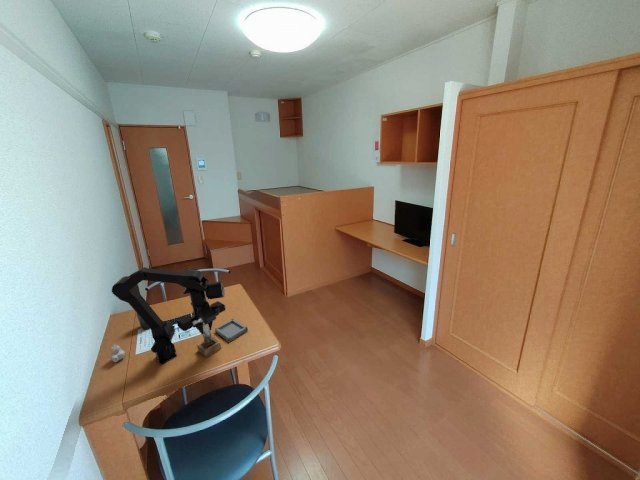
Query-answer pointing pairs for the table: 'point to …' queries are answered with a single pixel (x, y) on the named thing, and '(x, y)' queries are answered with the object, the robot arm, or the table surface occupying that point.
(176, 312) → the table surface
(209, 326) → the robot arm
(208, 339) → the pin
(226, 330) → the tray
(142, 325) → the supplement bottle
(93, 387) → the table surface
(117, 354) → the grey knobbly cluster
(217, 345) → the socket
